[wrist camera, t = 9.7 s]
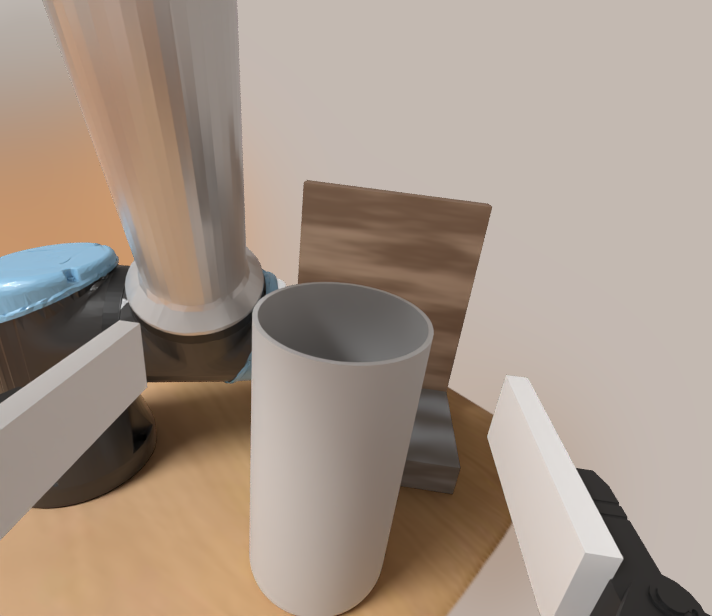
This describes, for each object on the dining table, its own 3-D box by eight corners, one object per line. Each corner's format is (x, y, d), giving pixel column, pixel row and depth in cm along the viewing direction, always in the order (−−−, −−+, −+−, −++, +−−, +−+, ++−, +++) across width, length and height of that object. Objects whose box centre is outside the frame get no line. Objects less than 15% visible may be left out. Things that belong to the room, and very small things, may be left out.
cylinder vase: (358, 486, 47) (391, 281, 36) (403, 600, 36) (469, 357, 26) (243, 508, 43) (244, 283, 32) (257, 643, 32) (265, 374, 22)
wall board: (452, 494, 47) (527, 238, 35) (263, 464, 48) (270, 204, 36) (439, 405, 62) (488, 203, 50) (294, 384, 63) (307, 180, 50)
